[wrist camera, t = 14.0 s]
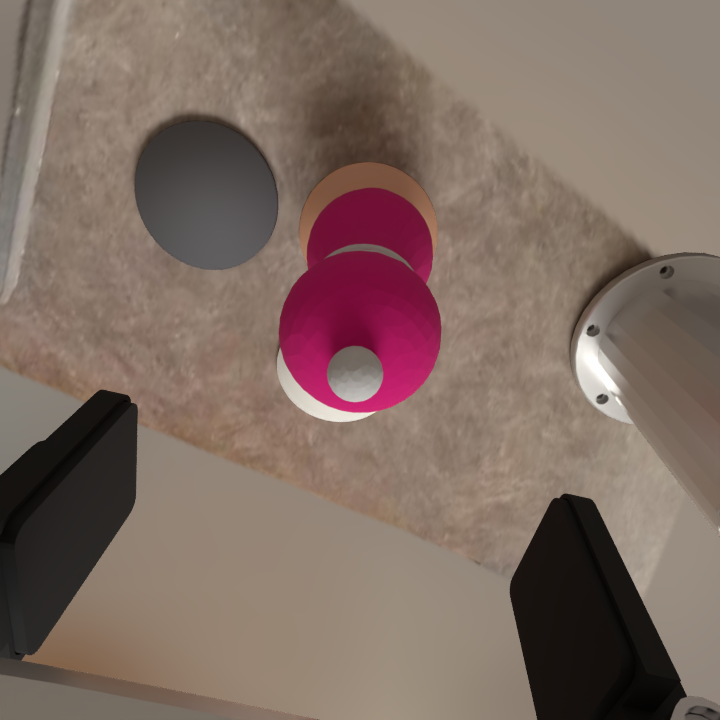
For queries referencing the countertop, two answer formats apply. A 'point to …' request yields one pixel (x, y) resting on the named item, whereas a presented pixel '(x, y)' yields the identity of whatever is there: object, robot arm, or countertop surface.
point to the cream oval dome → (311, 398)
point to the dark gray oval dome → (206, 195)
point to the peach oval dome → (358, 179)
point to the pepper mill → (363, 305)
